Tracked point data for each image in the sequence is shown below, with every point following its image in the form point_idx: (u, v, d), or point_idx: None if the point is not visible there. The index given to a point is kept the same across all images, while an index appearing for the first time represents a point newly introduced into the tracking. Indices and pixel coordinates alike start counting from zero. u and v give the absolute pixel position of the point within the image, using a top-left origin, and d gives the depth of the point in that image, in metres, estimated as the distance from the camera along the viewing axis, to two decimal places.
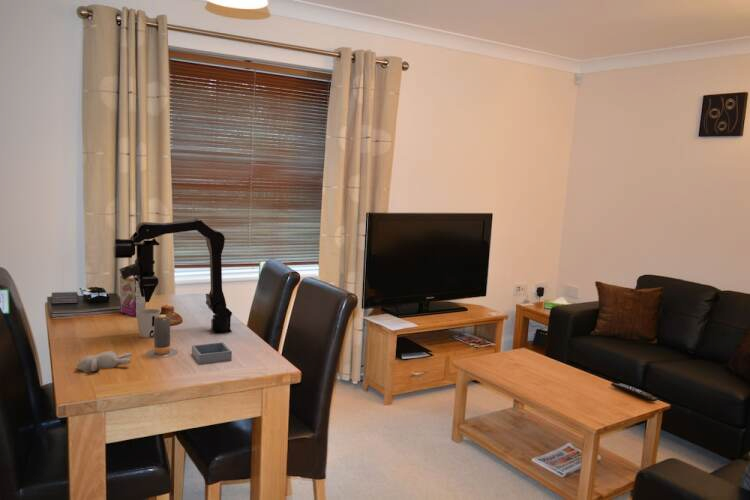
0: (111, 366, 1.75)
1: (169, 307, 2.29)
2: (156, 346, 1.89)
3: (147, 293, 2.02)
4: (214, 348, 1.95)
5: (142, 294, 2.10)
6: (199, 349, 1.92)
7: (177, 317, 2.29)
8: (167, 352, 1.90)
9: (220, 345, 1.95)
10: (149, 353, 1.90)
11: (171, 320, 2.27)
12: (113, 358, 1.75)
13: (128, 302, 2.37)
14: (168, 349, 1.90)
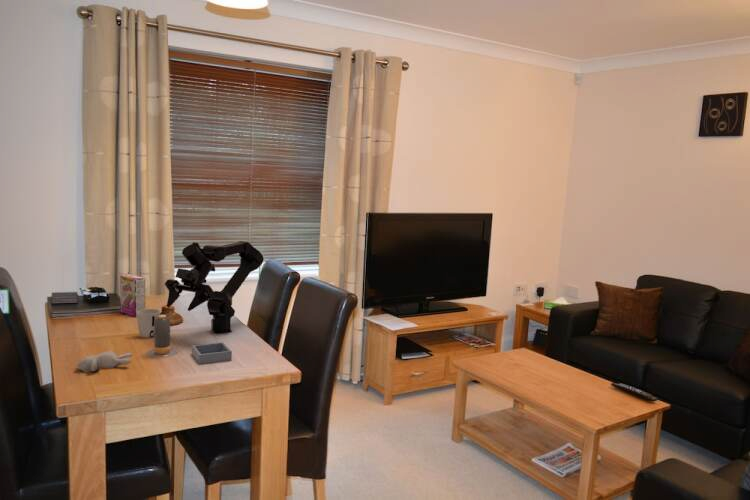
0: (111, 366, 1.75)
1: (170, 307, 2.29)
2: (156, 346, 1.89)
3: (196, 302, 1.99)
4: (214, 348, 1.95)
5: (169, 304, 2.01)
6: (199, 349, 1.92)
7: (178, 317, 2.29)
8: (167, 352, 1.90)
9: (220, 345, 1.95)
10: (149, 353, 1.90)
11: (171, 320, 2.27)
12: (113, 358, 1.75)
13: (128, 302, 2.37)
14: (168, 349, 1.90)
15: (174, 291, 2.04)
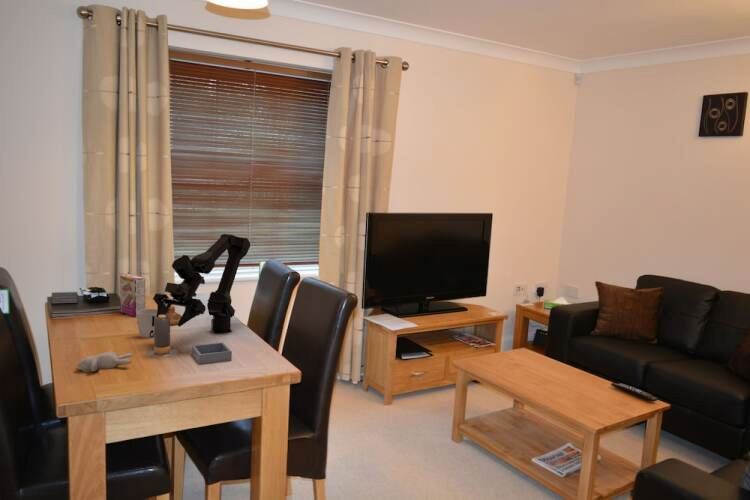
0: (111, 366, 1.75)
1: (170, 307, 2.29)
2: (156, 346, 1.89)
3: (186, 317, 1.92)
4: (214, 348, 1.95)
5: None
6: (199, 349, 1.92)
7: (178, 317, 2.29)
8: (167, 352, 1.90)
9: (220, 345, 1.95)
10: (149, 353, 1.90)
11: (172, 320, 2.27)
12: (113, 358, 1.75)
13: (128, 302, 2.37)
14: (168, 349, 1.90)
15: (163, 306, 1.97)
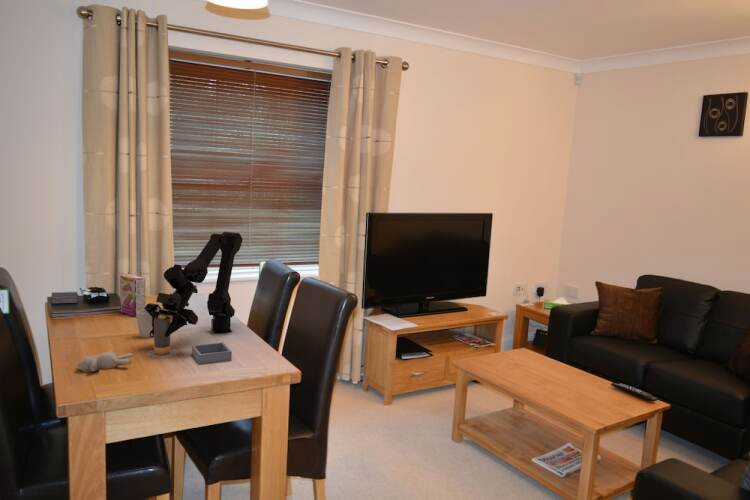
0: (111, 367, 1.75)
1: None
2: (156, 346, 1.89)
3: (173, 327, 1.90)
4: (214, 348, 1.95)
5: None
6: (199, 349, 1.92)
7: None
8: (167, 352, 1.90)
9: (220, 345, 1.95)
10: (149, 353, 1.90)
11: None
12: (113, 359, 1.75)
13: (128, 302, 2.37)
14: (168, 349, 1.90)
15: None
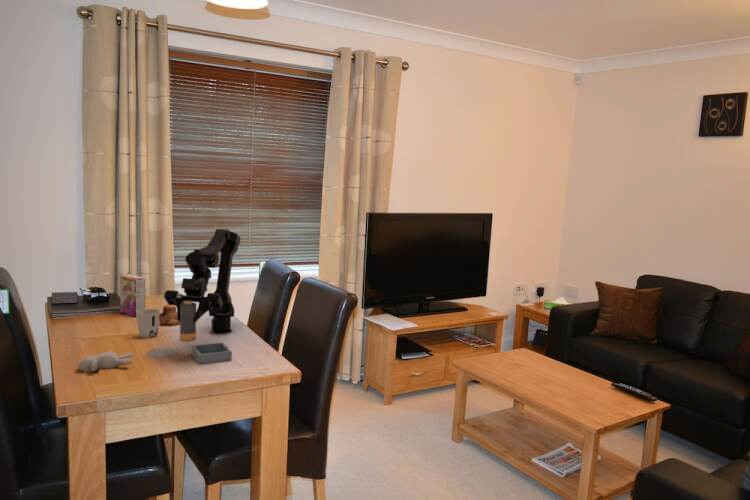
0: (112, 366, 1.75)
1: (171, 307, 2.29)
2: (184, 332, 1.86)
3: (200, 312, 1.88)
4: (214, 348, 1.95)
5: (179, 317, 1.87)
6: (199, 349, 1.92)
7: None
8: (194, 338, 1.88)
9: (220, 345, 1.95)
10: (149, 353, 1.90)
11: (173, 320, 2.27)
12: (113, 358, 1.75)
13: (128, 302, 2.37)
14: (195, 335, 1.88)
15: None
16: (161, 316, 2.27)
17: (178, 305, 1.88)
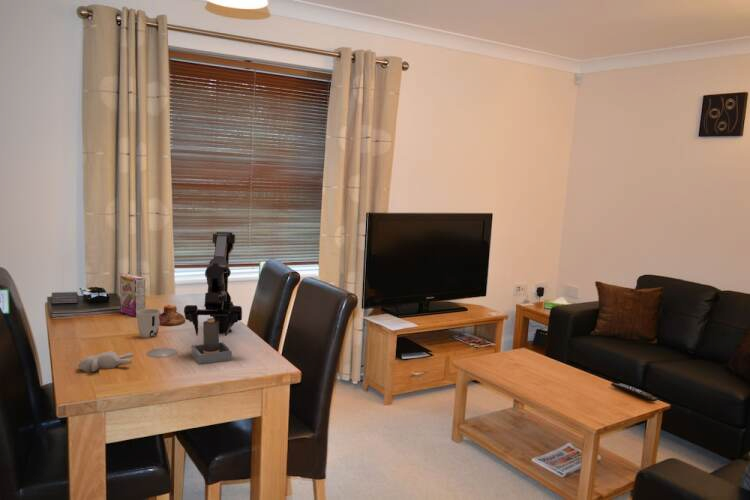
0: (112, 366, 1.75)
1: (172, 307, 2.29)
2: (209, 350, 1.87)
3: (229, 325, 1.90)
4: None
5: (197, 332, 1.87)
6: (199, 349, 1.92)
7: (180, 317, 2.30)
8: None
9: (220, 345, 1.95)
10: (149, 353, 1.90)
11: (174, 320, 2.27)
12: (114, 358, 1.75)
13: (128, 302, 2.37)
14: None
15: (197, 317, 1.90)
16: (162, 316, 2.27)
17: (194, 319, 1.88)
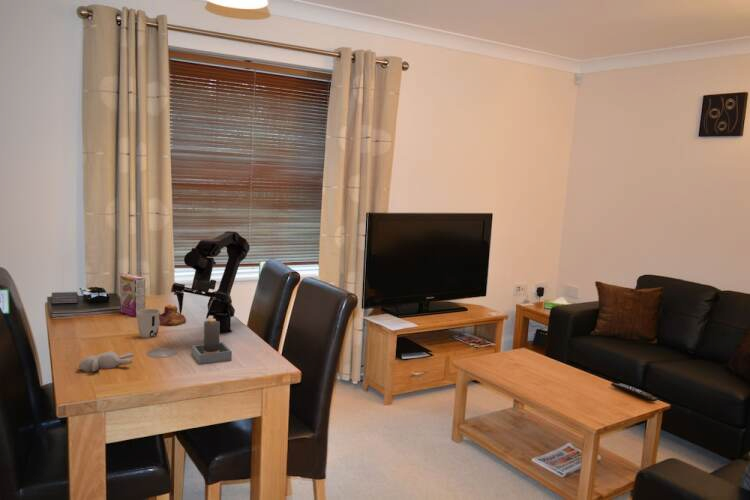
0: (112, 366, 1.75)
1: (172, 307, 2.29)
2: (209, 351, 1.87)
3: (212, 309, 2.04)
4: None
5: (181, 311, 1.99)
6: (199, 349, 1.92)
7: (180, 317, 2.30)
8: None
9: (220, 345, 1.95)
10: (149, 353, 1.90)
11: (174, 320, 2.27)
12: (114, 358, 1.75)
13: (128, 302, 2.37)
14: None
15: None
16: (162, 316, 2.28)
17: (180, 299, 1.99)
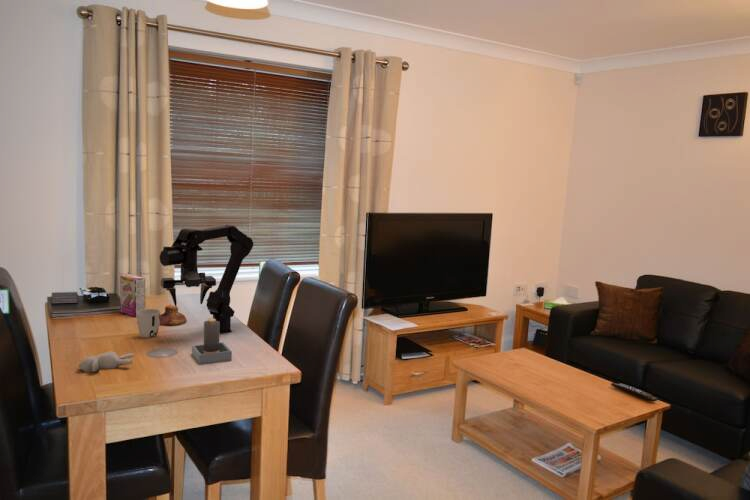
0: (112, 367, 1.75)
1: (173, 307, 2.29)
2: (209, 351, 1.87)
3: None
4: None
5: None
6: (199, 349, 1.92)
7: (181, 317, 2.30)
8: None
9: (220, 345, 1.95)
10: (149, 353, 1.90)
11: (175, 320, 2.27)
12: (114, 359, 1.75)
13: (128, 302, 2.37)
14: None
15: None
16: (163, 316, 2.28)
17: (173, 293, 2.04)
